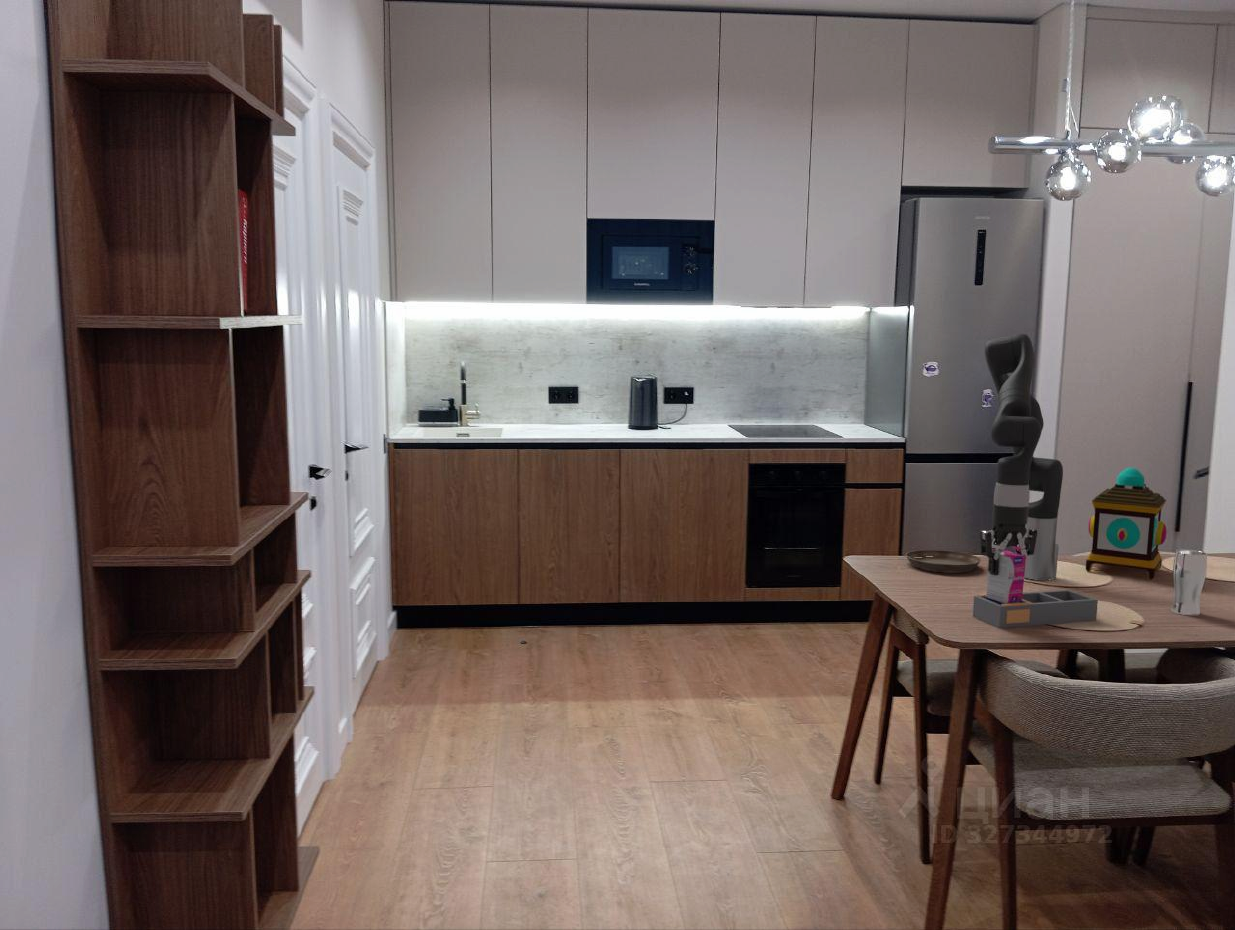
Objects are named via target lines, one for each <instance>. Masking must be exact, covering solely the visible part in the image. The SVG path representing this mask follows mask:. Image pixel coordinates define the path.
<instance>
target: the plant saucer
mask: <svg viewBox="0 0 1235 930" xmlns="http://www.w3.org/2000/svg"><path fill="white" fill-rule="evenodd" d="M926 556H933V557H926ZM905 557H906V558H907V561H908V562H910V564H911V565H912V566H913V567H915V568H917V569H920V570H922V571H923V570H924V571H928V572H934V573H943V574H944V573H946V574H963V573H967V572H968V573H969V572H970V571H973V570H974V569H975V568H977V566H978V565H979V564H980V563H981V561H982V559H981V558H980V557H978V556H976V555H973V554H969V553H964V552H961V551H960V552H958V551H951V550H938V549H923V550H912V551H908V552H906V553H905ZM914 557H922V558H914Z"/></svg>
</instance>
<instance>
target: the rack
mask: <svg viewBox="0 0 1235 930" xmlns="http://www.w3.org/2000/svg"><path fill="white" fill-rule="evenodd" d="M986 594H987V593H980V594H977V595H973V606H972V617H973V618H976V619H977V620H980V621H982V622H984V623H986V624H989V625H991V626H993V627H996V628H998V629H1004V628H1017V627H1019V628H1020V627H1029V626H1042V625H1044V626H1045V625H1058V624H1068V623H1069V624H1071V623H1083V622H1093V621H1094V622H1095V621H1097V615H1098V603H1099V599H1097V598H1094V597H1091V596H1087V595H1085V594H1083V593H1079V592H1076V591H1074V590H1070V589H1059V590H1057V589H1056V590H1044V591H1043V590H1042V591H1041V590H1040V591H1028V592H1027V591H1026V592H1023V594H1022V603H1009V604H998V603H995V602H992V601H990V600H987V599H986Z"/></svg>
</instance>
